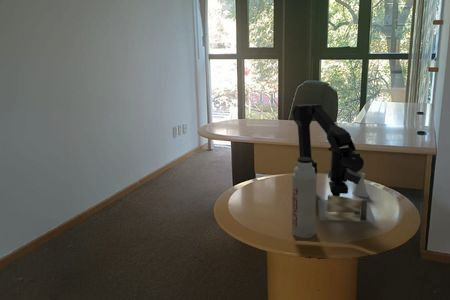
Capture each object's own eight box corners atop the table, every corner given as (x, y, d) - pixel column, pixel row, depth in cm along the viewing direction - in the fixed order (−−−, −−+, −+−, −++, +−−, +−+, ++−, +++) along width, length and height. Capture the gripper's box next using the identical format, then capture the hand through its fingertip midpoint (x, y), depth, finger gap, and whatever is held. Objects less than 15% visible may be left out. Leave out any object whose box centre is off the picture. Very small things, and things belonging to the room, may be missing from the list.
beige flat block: (360, 214, 153) (361, 199, 151) (359, 216, 152) (360, 201, 150) (328, 208, 159) (328, 194, 158) (327, 210, 158) (327, 196, 156)
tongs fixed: (365, 217, 151) (366, 200, 149) (367, 221, 148) (368, 203, 146) (324, 215, 154) (325, 198, 152) (325, 219, 151) (325, 202, 149)
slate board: (319, 222, 151) (319, 219, 150) (317, 201, 170) (318, 199, 169) (375, 225, 147) (376, 222, 147) (367, 203, 166) (367, 201, 166)
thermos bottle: (295, 241, 137) (296, 162, 130) (289, 230, 145) (290, 155, 138) (317, 239, 138) (320, 161, 131) (311, 229, 146) (313, 154, 138)
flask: (366, 192, 178) (367, 171, 175) (370, 199, 171) (371, 176, 168) (349, 192, 179) (350, 171, 176) (352, 198, 172) (354, 176, 169)
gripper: (364, 173, 144) (360, 212, 149) (357, 157, 162) (354, 193, 167) (332, 171, 146) (329, 211, 151) (328, 156, 164) (326, 191, 169)
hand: (336, 201), depth 159 cm, fingers closed
